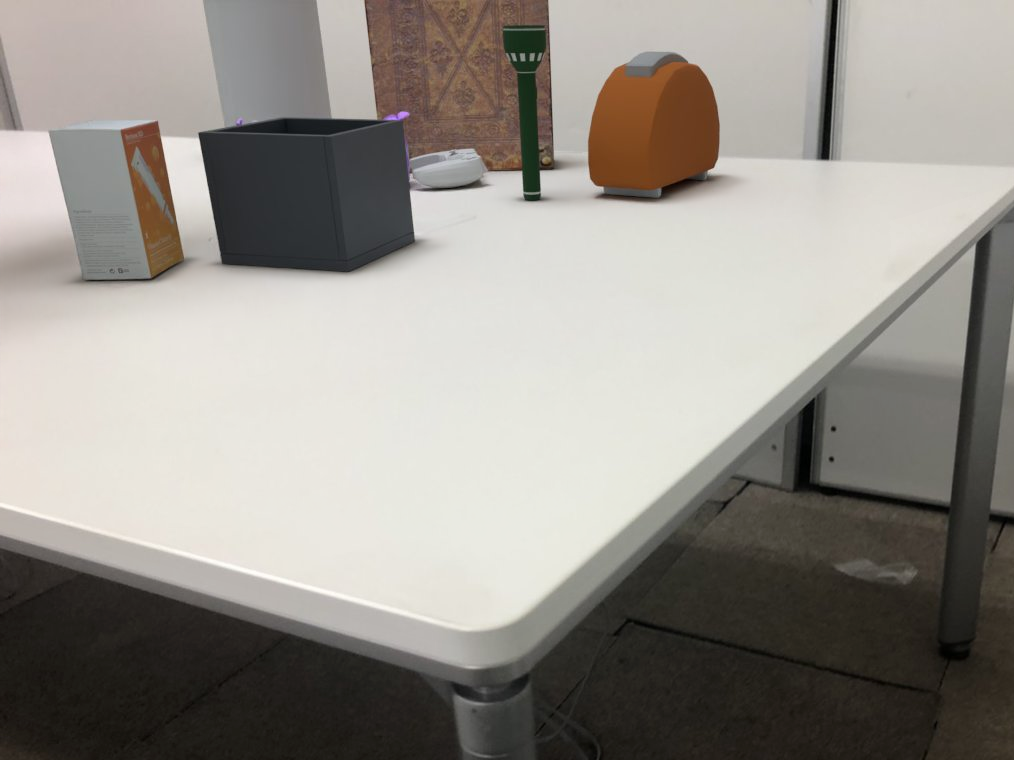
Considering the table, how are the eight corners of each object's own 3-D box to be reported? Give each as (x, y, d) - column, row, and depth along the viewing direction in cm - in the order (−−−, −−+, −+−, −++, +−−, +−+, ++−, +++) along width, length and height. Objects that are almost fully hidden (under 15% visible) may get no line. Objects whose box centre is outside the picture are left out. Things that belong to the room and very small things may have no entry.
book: (381, 173, 148) (355, -60, 135) (388, 164, 156) (364, -56, 143) (555, 169, 150) (546, -60, 137) (553, 160, 159) (544, -56, 146)
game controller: (405, 152, 144) (472, 134, 145) (414, 183, 146) (481, 165, 147) (410, 167, 131) (484, 147, 133) (420, 200, 133) (493, 180, 135)
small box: (153, 280, 91) (120, 128, 86) (81, 281, 91) (44, 129, 86) (187, 259, 99) (159, 118, 93) (121, 260, 98) (89, 119, 93)
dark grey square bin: (221, 263, 97) (197, 132, 92) (300, 234, 109) (282, 117, 104) (348, 271, 94) (331, 136, 89) (415, 241, 106) (403, 120, 101)
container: (213, 165, 155) (180, -16, 145) (243, 150, 171) (215, -14, 160) (328, 163, 157) (304, -17, 146) (347, 148, 172) (326, -15, 162)
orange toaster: (663, 172, 147) (664, 47, 140) (720, 176, 144) (724, 48, 137) (586, 198, 128) (582, 55, 121) (650, 203, 125) (650, 56, 118)
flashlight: (560, 198, 128) (554, 25, 119) (532, 204, 125) (523, 26, 116) (532, 194, 131) (524, 25, 122) (503, 199, 127) (493, 25, 119)
